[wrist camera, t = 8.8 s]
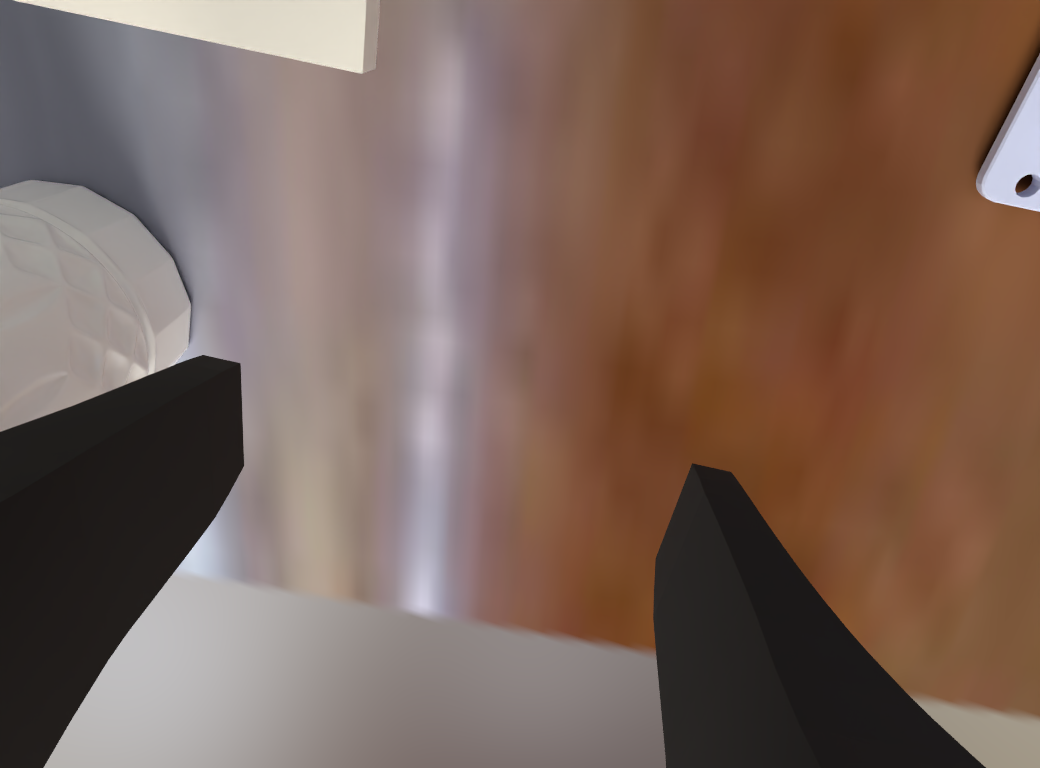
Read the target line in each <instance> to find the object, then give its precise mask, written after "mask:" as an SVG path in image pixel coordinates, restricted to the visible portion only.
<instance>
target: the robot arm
mask: <svg viewBox="0 0 1040 768" xmlns="http://www.w3.org/2000/svg"><path fill="white" fill-rule="evenodd" d="M1031 174H1032V177H1033V179H1032V183H1031V185H1030V186H1029V187H1028V188H1027V189H1026V190H1024V191H1022V192H1020V193H1016V191H1015V187H1016V183H1017V182H1018V181H1019V180H1020V179H1021V178H1022V177H1024V176H1026V175H1031ZM976 186H977V190H978V191H979V193H980V194H981V195H982V196H983V197H985V198H987V199H989V200H991V201H993V202H997V203H1001V204H1006V205H1011V206H1015V207H1020V208H1025V209H1030V210H1034V211H1039V212H1040V54H1039V56H1038V58H1037V60H1036V62H1035V64H1034V66H1033V68H1032V70H1031V71H1030V73H1029V75H1028V77H1027V79H1026V81H1025V83H1024V85H1023V87H1022V89H1021V91H1020V93H1019V95H1018V97H1017V99H1016V101H1015V103H1014V105H1013V107H1012V109H1011V111H1010V112H1009V114H1008V116H1007V118H1006V120H1005V122H1004V124H1003V126H1002V128H1001V130H1000V132H999V134H998V136H997V138H996V140H995V142H994V144H993V146H992V148H991V150H990V152H989V153H988V155H987V157H986V159H985V161H984V163H983V165H982V167H981V169H980V171H979V173H978V176H977V180H976ZM243 467H244V453H243V424H242V395H241V366H240V363H236V362H232V361H227V360H223V359H218V358H214V357H209V356H205V355H202V356H199V357H196V358H192V359H189V360H186V361H184V362H181V363H178V364H176V365H173V366H170V367H168V368H165V369H163V370H160V371H158V372H155V373H153V374H150V375H148V376H145V377H143V378H141V379H138V380H136V381H133V382H131V383H128V384H126V385H123V386H121V387H118V388H116V389H113V390H111V391H108V392H106V393H103V394H101V395H98V396H96V397H93V398H91V399H88V400H86V401H83V402H81V403H78V404H76V405H73V406H71V407H68V408H65V409H62V410H59V411H57V412H54V413H51V414H48V415H46V416H43V417H40V418H37V419H34V420H32V421H29V422H26V423H23V424H21V425H18V426H15V427H12V428H9V429H7V430H4V431H1V432H0V768H43V767H44V766H45V764H46V762H47V761H48V759H49V757H50V755H51V754H52V752H53V750H54V749H55V747H56V745H57V743H58V742H59V740H60V738H61V737H62V735H63V733H64V731H65V730H66V728H67V726H68V725H69V723H70V721H71V720H72V718H73V716H74V714H75V713H76V711H77V710H78V708H79V706H80V705H81V703H82V702H83V700H84V698H85V697H86V695H87V694H88V692H89V690H90V689H91V687H92V686H93V684H94V682H95V681H96V679H97V677H98V676H99V674H100V672H101V671H102V669H103V668H104V666H105V664H106V663H107V661H108V659H109V658H110V657H111V655H112V654H113V653H114V651H115V650H116V648H117V647H118V645H119V644H120V643H121V641H122V639H123V638H124V637H125V636H126V634H127V633H128V631H129V630H130V629H131V627H132V626H133V625H134V623H135V622H136V621H137V620H138V618H139V617H140V616H141V614H142V613H143V612H144V611H145V609H146V608H147V607H148V605H149V604H150V603H151V601H152V600H153V599H154V598H155V596H156V595H157V594H158V592H159V591H160V590H161V588H162V587H163V586H164V584H165V583H166V582H167V581H168V579H169V578H170V577H171V575H172V574H173V573H174V571H175V570H176V569H177V568H178V566H179V565H180V564H181V562H182V561H183V560H184V558H185V557H186V556H187V555H188V553H189V552H190V551H191V549H192V548H193V547H194V545H195V544H196V543H197V541H198V540H199V539H200V537H201V536H202V535H203V533H204V532H205V531H206V529H207V528H208V527H209V525H210V524H211V522H212V521H213V520H214V518H215V517H216V515H217V513H218V512H219V510H220V508H221V506H222V505H223V503H224V501H225V500H226V498H227V496H228V495H229V493H230V491H231V489H232V487H233V485H234V483H235V482H236V480H237V478H238V476H239V474H240V472H241V470H242V469H243ZM653 618H654V631H655V643H656V655H657V667H658V677H659V689H660V699H661V711H662V722H663V731H664V732H663V733H664V743H665V755H666V768H986V767H984V766H983V765H982V764H981V763H980V762H979V761H978V760H976V759H975V758H974V757H973V756H972V755H971V754H970V753H969V752H968V751H967V750H966V749H965V748H964V747H962V746H961V745H960V744H959V743H958V742H957V741H956V740H955V739H954V738H953V737H952V736H951V735H950V734H948V733H947V732H946V731H945V730H944V729H943V728H942V727H941V726H940V725H939V724H938V723H937V722H935V721H934V720H933V719H932V718H931V717H930V716H929V715H928V714H927V713H926V712H925V711H924V710H923V709H922V708H921V707H920V706H919V705H918V704H917V703H916V702H915V701H914V700H913V699H912V698H911V697H910V696H909V695H908V694H907V693H906V692H905V691H904V690H903V689H902V688H901V687H900V686H899V685H898V684H897V683H896V681H895V680H894V679H893V678H892V677H891V676H890V675H889V674H888V673H887V672H886V671H885V670H884V669H883V668H882V667H881V666H880V665H879V664H878V662H877V661H876V660H875V659H874V658H873V657H872V656H871V655H870V654H869V653H868V652H867V651H866V650H865V648H864V647H863V646H862V645H861V644H860V643H859V642H858V641H857V639H856V638H855V637H854V636H853V635H852V634H851V633H850V631H849V630H848V629H847V628H846V627H845V625H844V624H843V623H842V622H841V621H840V619H839V618H838V617H837V616H836V614H835V613H834V612H833V611H832V610H831V608H830V607H829V606H828V605H827V604H826V602H825V601H824V600H823V599H822V597H821V596H820V595H819V594H818V592H817V591H816V590H815V588H814V587H813V586H812V585H811V583H810V582H809V581H808V579H807V578H806V577H805V576H804V574H803V573H802V572H801V570H800V569H799V568H798V566H797V565H796V564H795V562H794V561H793V559H792V558H791V557H790V555H789V554H788V553H787V551H786V550H785V548H784V547H783V546H782V544H781V543H780V541H779V540H778V539H777V537H776V536H775V534H774V533H773V531H772V530H771V529H770V527H769V526H768V524H767V523H766V521H765V520H764V518H763V517H762V516H761V514H760V513H759V511H758V510H757V508H756V507H755V505H754V504H753V502H752V501H751V500H750V498H749V497H748V495H747V494H746V492H745V491H744V489H743V488H742V486H741V485H740V484H739V482H738V481H737V479H736V478H735V477H734V475H733V474H732V473H731V472H728V471H724V470H719V469H715V468H710V467H706V466H701V465H697V464H692V465H691V468H690V471H689V473H688V476H687V479H686V481H685V484H684V486H683V489H682V492H681V494H680V497H679V499H678V502H677V505H676V507H675V510H674V512H673V515H672V518H671V520H670V523H669V525H668V528H667V531H666V533H665V536H664V538H663V541H662V544H661V546H660V549H659V551H658V554H657V557H656V565H655V585H654V614H653Z"/></svg>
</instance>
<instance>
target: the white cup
mask: <svg viewBox="0 0 1040 768" xmlns="http://www.w3.org/2000/svg"><path fill="white" fill-rule="evenodd" d="M190 317H191V303H190V300H189V298H188V295H187V293H186V290H185V288H184V285H183V283H182V280H181V278H180V275H179V273H178V270H177V268H176V265H175V263H174V260H173V258H172V257H171V255H170V254H169V253H168V252H167V251H166V250H165V249H164V248H163V246H162V245H161V244H160V243H159V242H158V241H157V240H156V239H155V237H154V236H153V235H152V234H151V233H150V232H149V231H148V230H147V229H146V227H145V226H144V225H143V224H142V223H141V222H140V221H139V220H138V218H137V217H136V216H135V215H134V214H132V213H130V212H128V211H127V210H125V209H123V208H121V207H120V206H118V205H116V204H114V203H112V202H111V201H109V200H107V199H105V198H103V197H102V196H100V195H98V194H96V193H95V192H93V191H91V190H89V189H87V188H86V187H84V186H79V185H71V184H62V183H54V182H46V181H38V180H28V181H24V182H20V183H17V184H13V185H10V186H7V187H3V188H0V432H1V431H4V430H7V429H9V428H12V427H15V426H18V425H21V424H23V423H26V422H29V421H32V420H34V419H37V418H40V417H43V416H46V415H48V414H51V413H54V412H57V411H59V410H62V409H65V408H68V407H71V406H73V405H76V404H78V403H81V402H83V401H86V400H88V399H91V398H93V397H96V396H98V395H101V394H103V393H106V392H108V391H111V390H113V389H116V388H118V387H121V386H123V385H126V384H128V383H131V382H133V381H136V380H138V379H141V378H143V377H145V376H148V375H150V374H153V373H155V372H158V371H160V370H163V369H165V368H168V367H170V366H173V365H175V364H176V363H177V361H178V360H179V359H180V357H181V356H182V355H183V354H184V352H185V351H186V350H187V348H188V345H189V331H190Z"/></svg>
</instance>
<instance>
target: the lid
mask: <svg viewBox="0 0 1040 768" xmlns="http://www.w3.org/2000/svg"><path fill="white" fill-rule="evenodd" d="M14 1H19V2H23V3H28V4H33V5H38V6H42V7H47V8H52V9H57V10H61V11H66V12H71V13H76V14H80V15H85V16H90V17H95V18H99V19H104V20H109V21H114V22H119V23H123V24H128V25H133V26H138V27H142V28H147V29H152V30H157V31H161V32H166V33H171V34H176V35H180V36H185V37H190V38H195V39H199V40H204V41H209V42H214V43H218V44H223V45H228V46H233V47H238V48H242V49H247V50H252V51H257V52H261V53H266V54H271V55H276V56H280V57H285V58H290V59H295V60H299V61H304V62H309V63H314V64H318V65H323V66H328V67H333V68H338V69H342V70H347V71H352V72H357V73H361V74H363V73H366V72H368V71H371V70H374V69H376V57H377V42H378V26H379V10H380V0H14Z"/></svg>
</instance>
